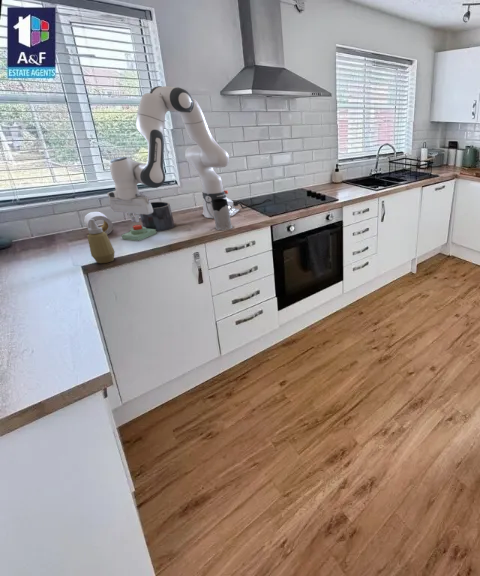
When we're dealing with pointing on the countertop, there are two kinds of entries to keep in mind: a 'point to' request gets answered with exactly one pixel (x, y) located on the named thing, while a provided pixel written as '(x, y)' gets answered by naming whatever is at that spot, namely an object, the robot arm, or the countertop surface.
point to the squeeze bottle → (99, 244)
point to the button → (137, 227)
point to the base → (138, 234)
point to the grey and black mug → (220, 214)
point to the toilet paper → (96, 216)
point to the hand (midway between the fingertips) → (135, 221)
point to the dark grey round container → (158, 217)
